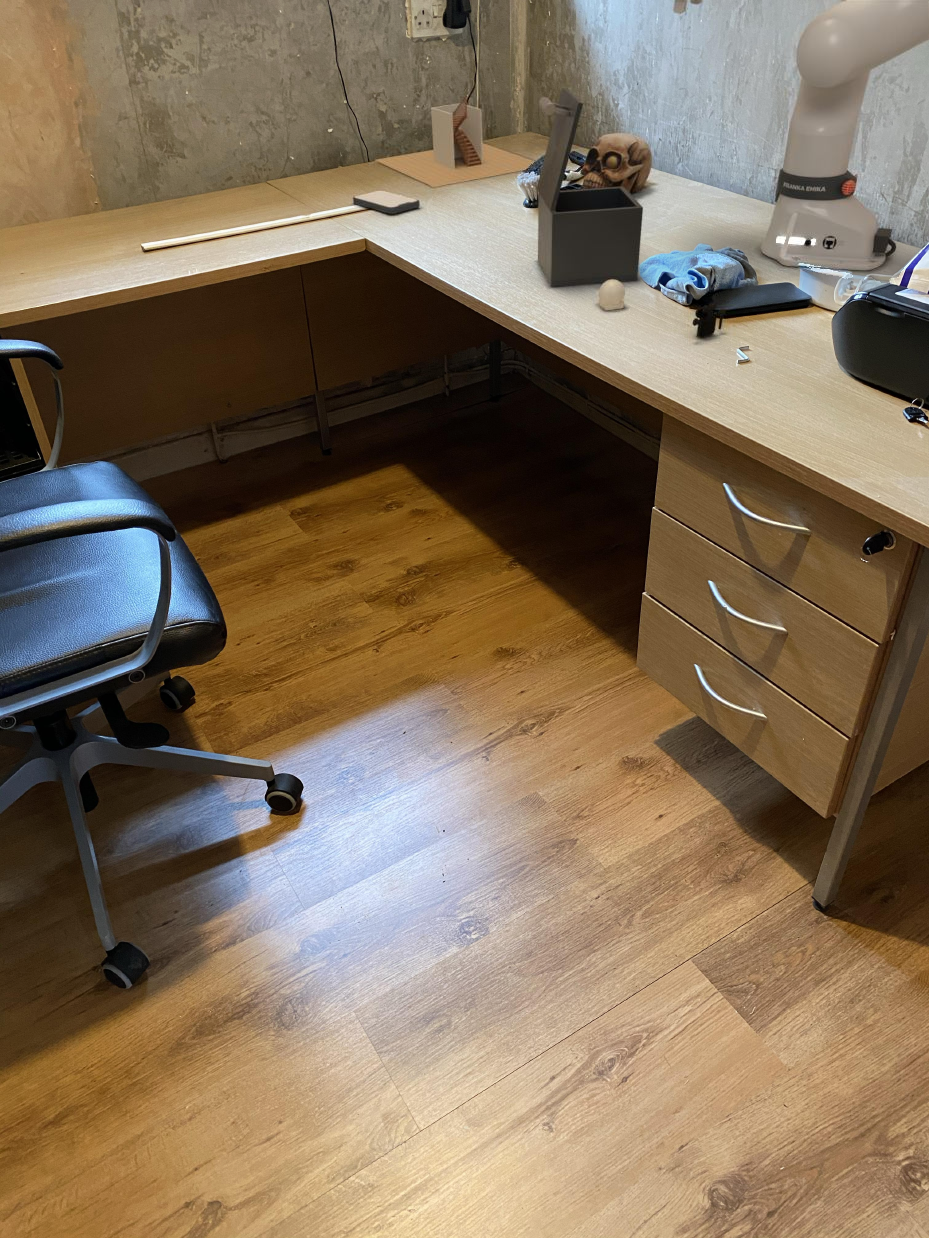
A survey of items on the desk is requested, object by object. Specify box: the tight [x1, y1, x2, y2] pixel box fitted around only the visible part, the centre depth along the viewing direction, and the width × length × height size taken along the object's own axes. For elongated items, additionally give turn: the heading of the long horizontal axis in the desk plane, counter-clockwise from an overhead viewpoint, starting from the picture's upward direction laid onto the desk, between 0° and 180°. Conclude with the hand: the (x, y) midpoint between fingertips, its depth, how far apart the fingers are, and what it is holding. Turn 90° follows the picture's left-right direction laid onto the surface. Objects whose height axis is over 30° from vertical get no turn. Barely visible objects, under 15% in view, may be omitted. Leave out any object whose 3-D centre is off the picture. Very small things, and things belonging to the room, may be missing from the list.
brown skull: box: [579, 132, 653, 194], centre depth 204 cm, size 16×17×13 cm
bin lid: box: [536, 87, 584, 212], centre depth 154 cm, size 17×14×5 cm
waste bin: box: [537, 186, 644, 288], centre depth 164 cm, size 16×14×12 cm
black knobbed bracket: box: [692, 302, 726, 339], centre depth 141 cm, size 7×2×5 cm, turn 125°
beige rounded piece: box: [598, 279, 626, 311], centre depth 153 cm, size 4×4×4 cm
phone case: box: [352, 190, 421, 215], centre depth 208 cm, size 9×2×16 cm
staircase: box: [430, 92, 485, 170], centre depth 232 cm, size 9×11×17 cm
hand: (687, 8), depth 156 cm, fingers open, 8 cm apart
